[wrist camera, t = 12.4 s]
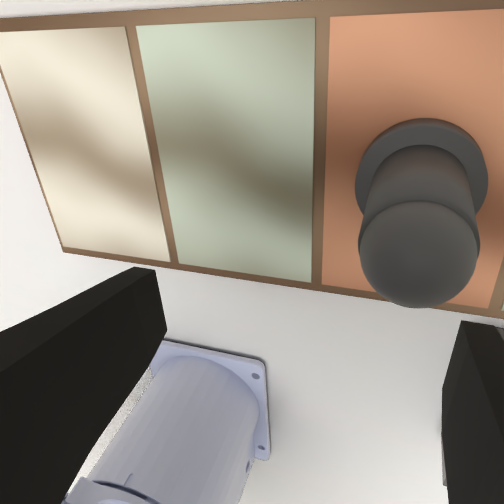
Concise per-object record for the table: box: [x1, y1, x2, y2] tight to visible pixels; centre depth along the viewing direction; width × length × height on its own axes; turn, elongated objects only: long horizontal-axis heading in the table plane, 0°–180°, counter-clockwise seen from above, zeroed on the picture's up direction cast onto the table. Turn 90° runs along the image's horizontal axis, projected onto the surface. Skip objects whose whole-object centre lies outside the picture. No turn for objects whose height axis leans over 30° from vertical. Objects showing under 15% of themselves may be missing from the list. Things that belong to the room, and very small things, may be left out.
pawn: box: [355, 118, 488, 308], centre depth 13 cm, size 4×4×7 cm
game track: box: [0, 0, 504, 319], centre depth 17 cm, size 12×30×1 cm, turn 94°
